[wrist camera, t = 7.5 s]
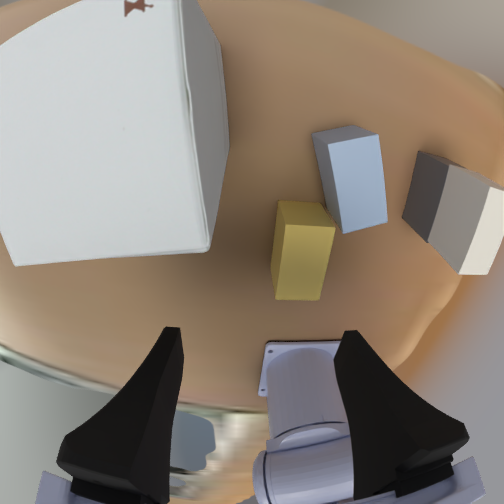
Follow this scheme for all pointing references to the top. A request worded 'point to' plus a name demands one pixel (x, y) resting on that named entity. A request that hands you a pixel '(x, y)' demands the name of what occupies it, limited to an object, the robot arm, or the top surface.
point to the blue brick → (352, 176)
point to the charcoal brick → (426, 192)
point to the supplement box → (112, 132)
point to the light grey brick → (469, 221)
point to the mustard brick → (300, 250)
